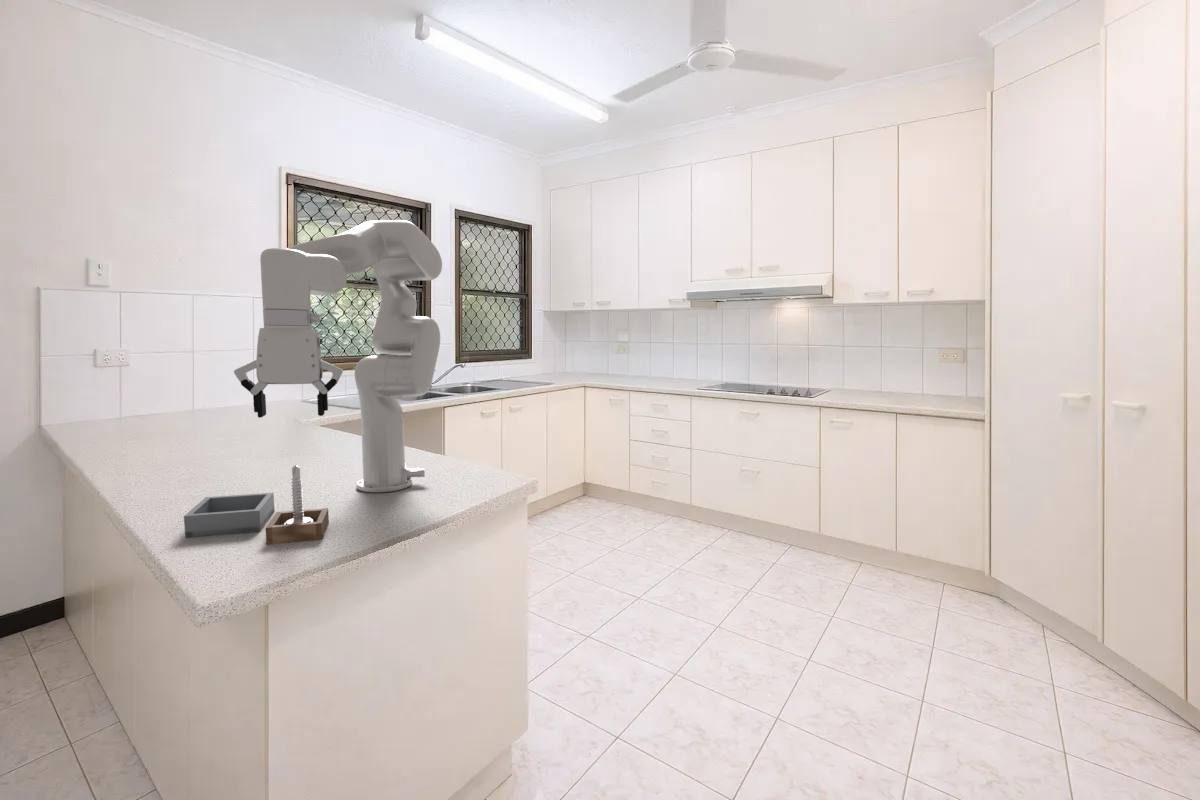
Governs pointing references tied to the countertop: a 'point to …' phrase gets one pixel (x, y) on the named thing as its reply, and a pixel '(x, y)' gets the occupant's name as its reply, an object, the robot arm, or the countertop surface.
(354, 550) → the countertop surface
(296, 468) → the screw
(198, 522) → the bin
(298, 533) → the frame
